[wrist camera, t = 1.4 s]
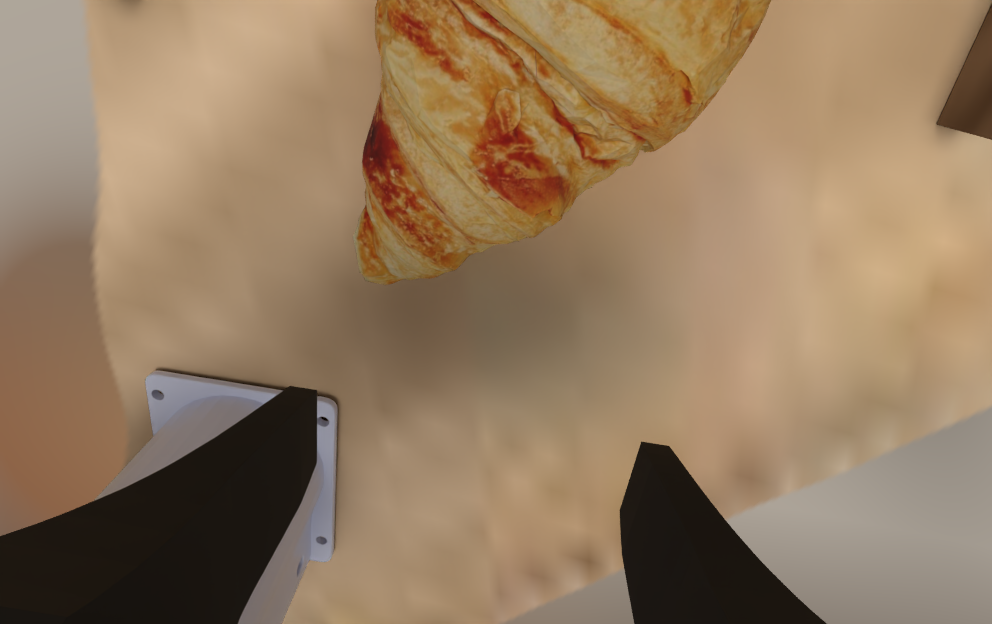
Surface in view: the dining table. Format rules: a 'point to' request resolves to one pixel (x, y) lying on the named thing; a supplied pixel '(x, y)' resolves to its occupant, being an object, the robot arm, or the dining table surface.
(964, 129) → the frame
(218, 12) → the dining table surface
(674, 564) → the robot arm
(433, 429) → the dining table surface
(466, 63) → the croissant
